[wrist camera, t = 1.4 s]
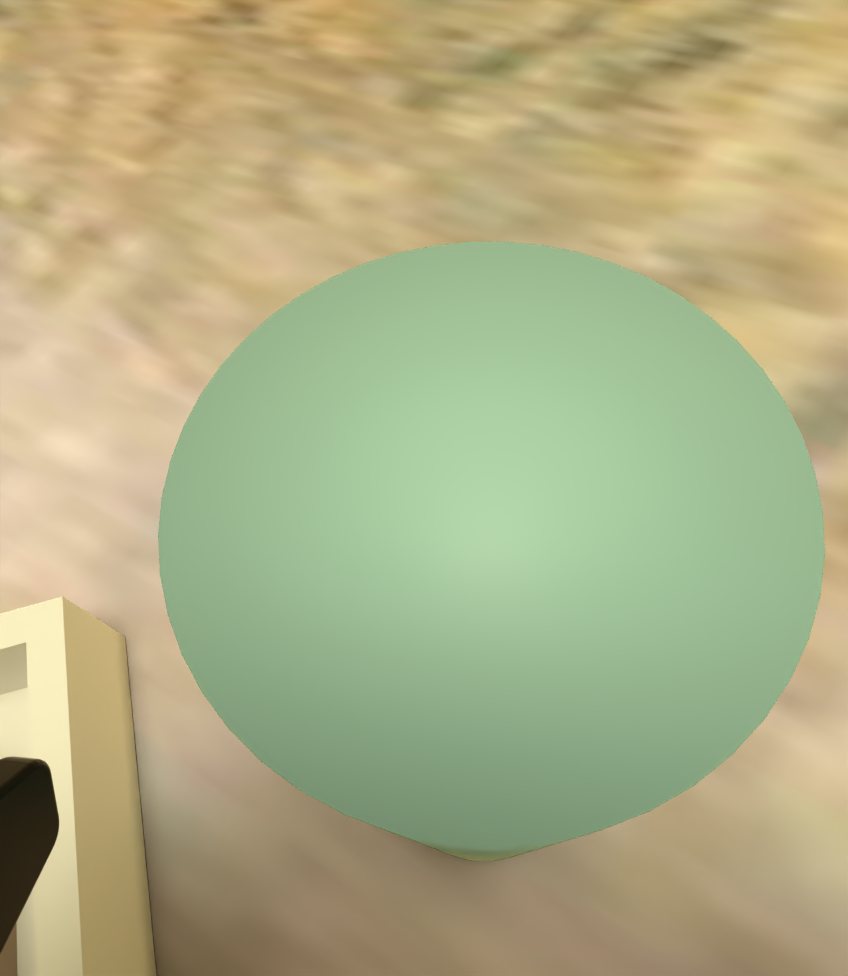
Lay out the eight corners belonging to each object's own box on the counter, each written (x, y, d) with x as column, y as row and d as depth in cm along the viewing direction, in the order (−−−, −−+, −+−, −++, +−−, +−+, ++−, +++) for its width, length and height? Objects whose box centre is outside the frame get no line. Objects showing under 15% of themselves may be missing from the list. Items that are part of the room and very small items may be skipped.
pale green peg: (596, 830, 16) (971, 716, 4) (418, 885, 16) (204, 952, 4) (535, 654, 18) (656, 187, 6) (374, 701, 18) (129, 321, 5)
